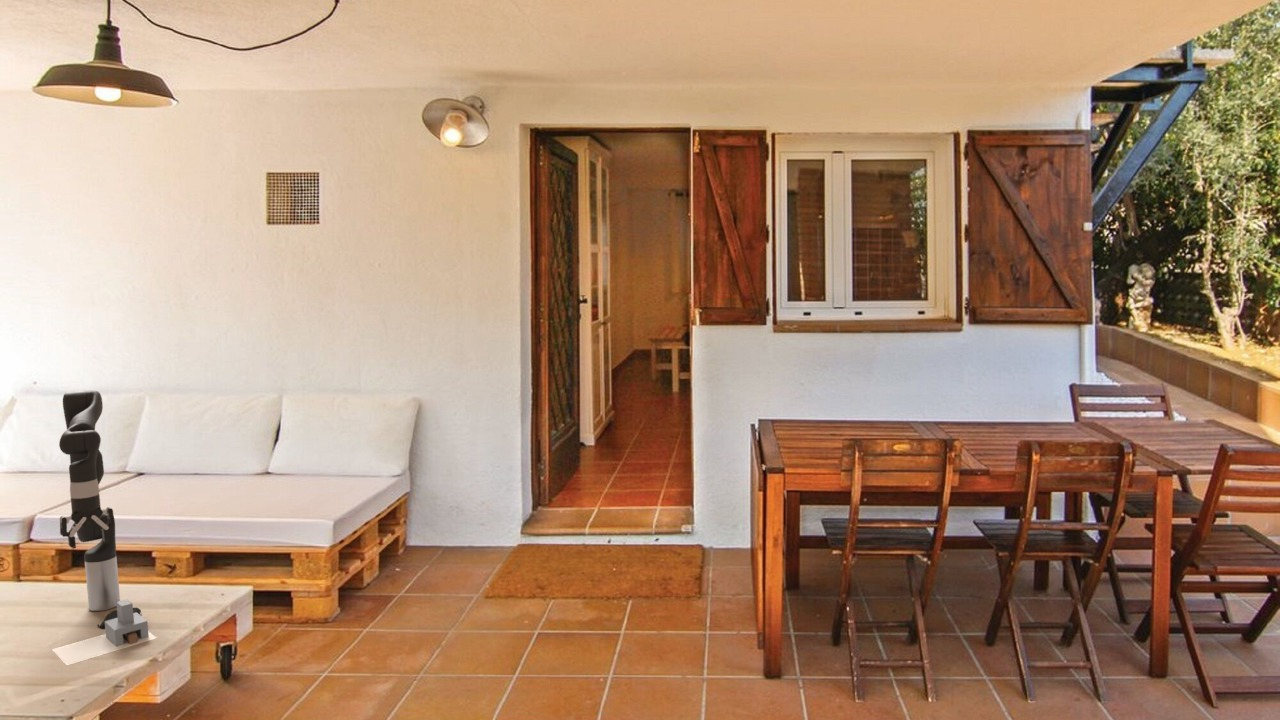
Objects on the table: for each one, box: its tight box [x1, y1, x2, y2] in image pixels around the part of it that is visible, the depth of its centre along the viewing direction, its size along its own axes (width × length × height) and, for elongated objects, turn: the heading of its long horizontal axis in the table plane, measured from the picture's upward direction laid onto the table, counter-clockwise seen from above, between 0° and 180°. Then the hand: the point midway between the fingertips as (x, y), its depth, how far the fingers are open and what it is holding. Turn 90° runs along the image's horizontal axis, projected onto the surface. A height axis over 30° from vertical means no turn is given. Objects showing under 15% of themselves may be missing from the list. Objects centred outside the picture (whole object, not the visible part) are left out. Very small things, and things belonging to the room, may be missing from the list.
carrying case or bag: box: [97, 607, 142, 630], centre depth 276 cm, size 11×3×15 cm
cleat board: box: [51, 630, 157, 666], centre depth 257 cm, size 16×24×4 cm, turn 138°
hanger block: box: [104, 598, 149, 647], centre depth 261 cm, size 10×9×11 cm
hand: (89, 544), depth 263 cm, fingers open, 8 cm apart
